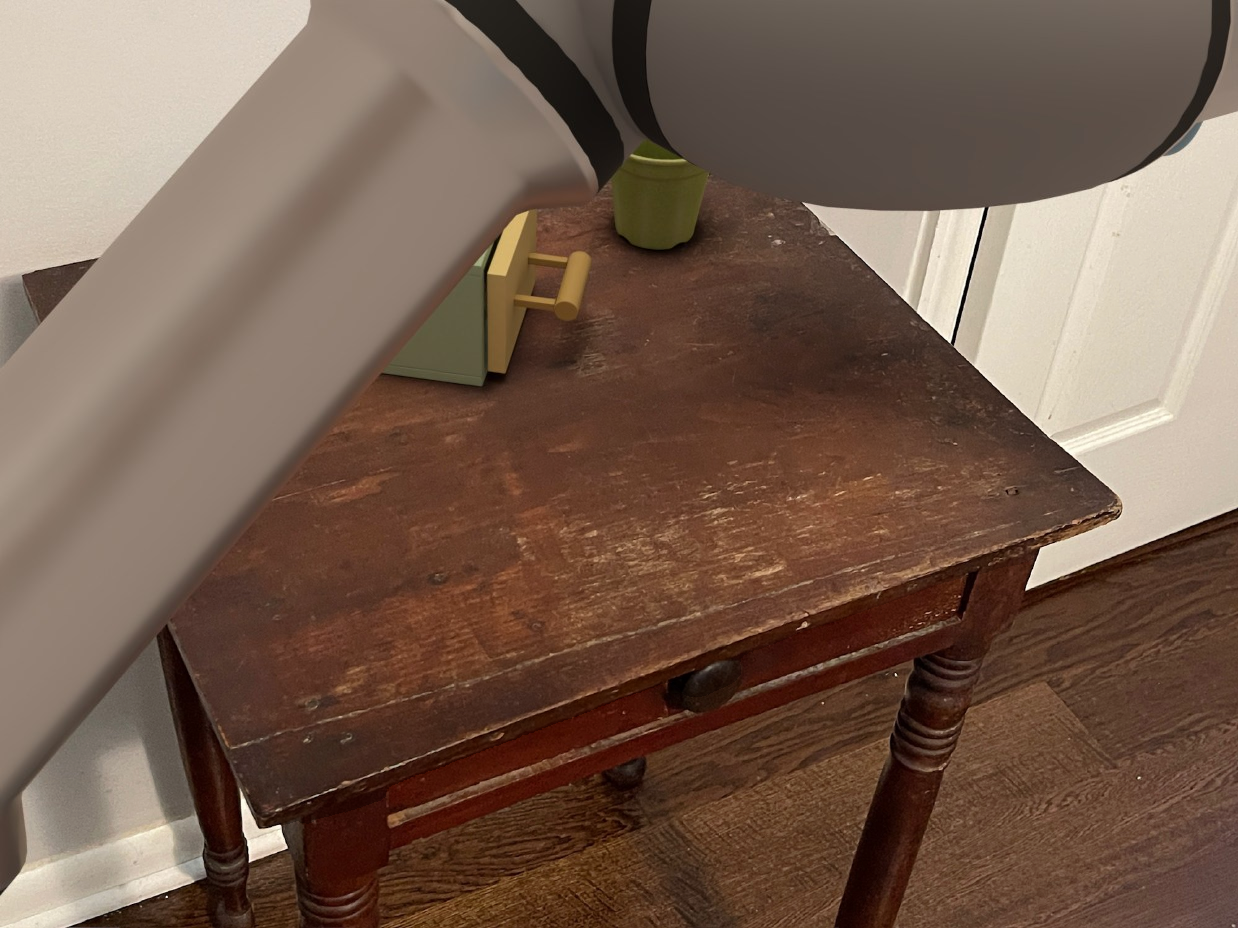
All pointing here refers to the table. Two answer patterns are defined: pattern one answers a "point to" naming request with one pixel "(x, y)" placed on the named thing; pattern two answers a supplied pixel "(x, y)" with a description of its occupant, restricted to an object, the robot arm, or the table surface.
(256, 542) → the table surface
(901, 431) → the table surface
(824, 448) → the table surface
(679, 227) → the plant pot
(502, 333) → the drawer
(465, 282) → the cabinet
